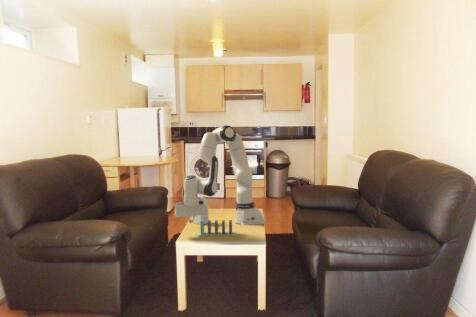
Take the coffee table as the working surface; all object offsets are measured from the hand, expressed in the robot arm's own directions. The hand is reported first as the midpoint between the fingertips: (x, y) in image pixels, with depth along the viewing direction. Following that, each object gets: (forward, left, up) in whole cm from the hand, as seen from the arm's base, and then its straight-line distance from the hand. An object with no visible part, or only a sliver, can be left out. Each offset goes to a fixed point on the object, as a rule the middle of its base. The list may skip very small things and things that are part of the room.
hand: (191, 222), depth 219 cm
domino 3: (-16, 0, -7) cm, 18 cm away
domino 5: (-25, 0, -7) cm, 26 cm away
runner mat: (-16, 0, -8) cm, 18 cm away
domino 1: (-7, 0, -7) cm, 10 cm away
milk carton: (-4, -24, -8) cm, 25 cm away
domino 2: (-12, 0, -7) cm, 14 cm away
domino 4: (-21, 0, -7) cm, 22 cm away
